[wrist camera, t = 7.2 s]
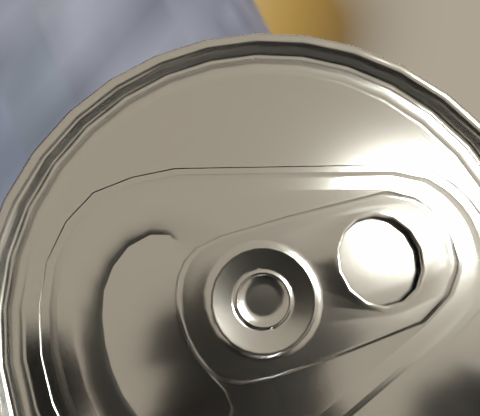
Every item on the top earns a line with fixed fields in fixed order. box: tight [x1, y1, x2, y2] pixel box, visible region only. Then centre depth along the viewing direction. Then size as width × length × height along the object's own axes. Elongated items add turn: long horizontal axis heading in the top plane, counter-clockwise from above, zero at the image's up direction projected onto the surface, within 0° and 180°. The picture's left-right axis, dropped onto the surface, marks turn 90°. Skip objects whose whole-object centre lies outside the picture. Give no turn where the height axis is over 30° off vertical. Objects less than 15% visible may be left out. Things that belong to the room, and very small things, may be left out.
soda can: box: [0, 33, 480, 416], centre depth 10 cm, size 7×7×12 cm
